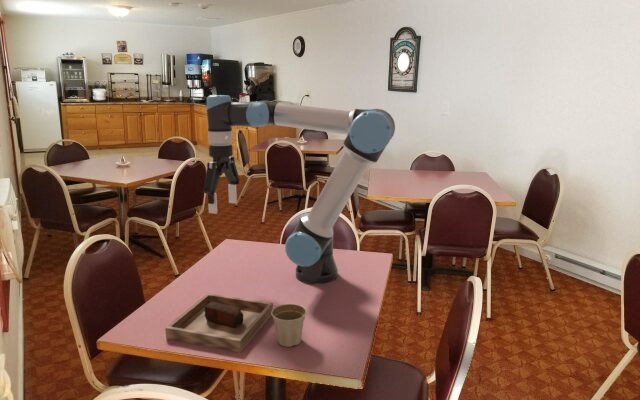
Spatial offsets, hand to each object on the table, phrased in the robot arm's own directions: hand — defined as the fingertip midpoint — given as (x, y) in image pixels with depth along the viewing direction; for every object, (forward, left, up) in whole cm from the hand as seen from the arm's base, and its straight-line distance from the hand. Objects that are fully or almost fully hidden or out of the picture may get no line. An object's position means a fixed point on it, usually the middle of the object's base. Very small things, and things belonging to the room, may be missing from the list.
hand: (223, 207), depth 153 cm
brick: (-13, +27, -26) cm, 40 cm away
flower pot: (-34, +29, -27) cm, 52 cm away
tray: (-13, +27, -27) cm, 40 cm away
